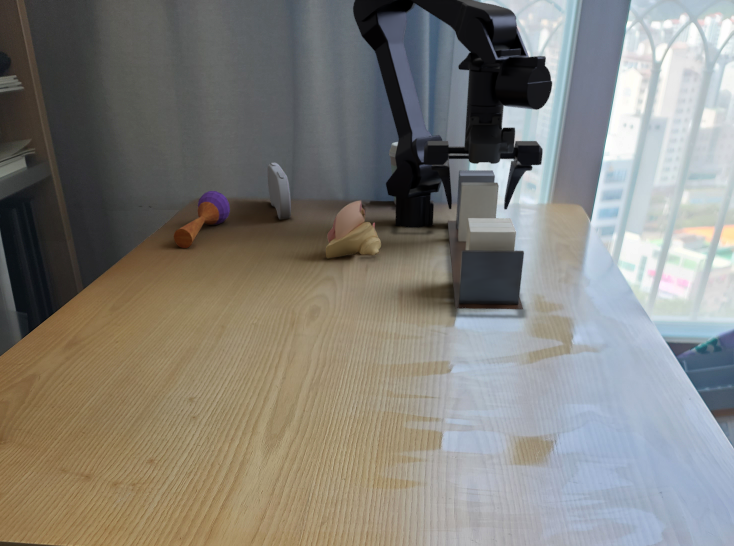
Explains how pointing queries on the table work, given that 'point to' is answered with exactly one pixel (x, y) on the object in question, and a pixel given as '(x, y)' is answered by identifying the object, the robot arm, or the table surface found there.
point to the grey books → (472, 177)
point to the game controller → (279, 191)
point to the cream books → (490, 234)
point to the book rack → (484, 276)
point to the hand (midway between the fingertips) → (477, 208)
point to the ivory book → (476, 204)
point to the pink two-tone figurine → (352, 233)
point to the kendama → (204, 217)
